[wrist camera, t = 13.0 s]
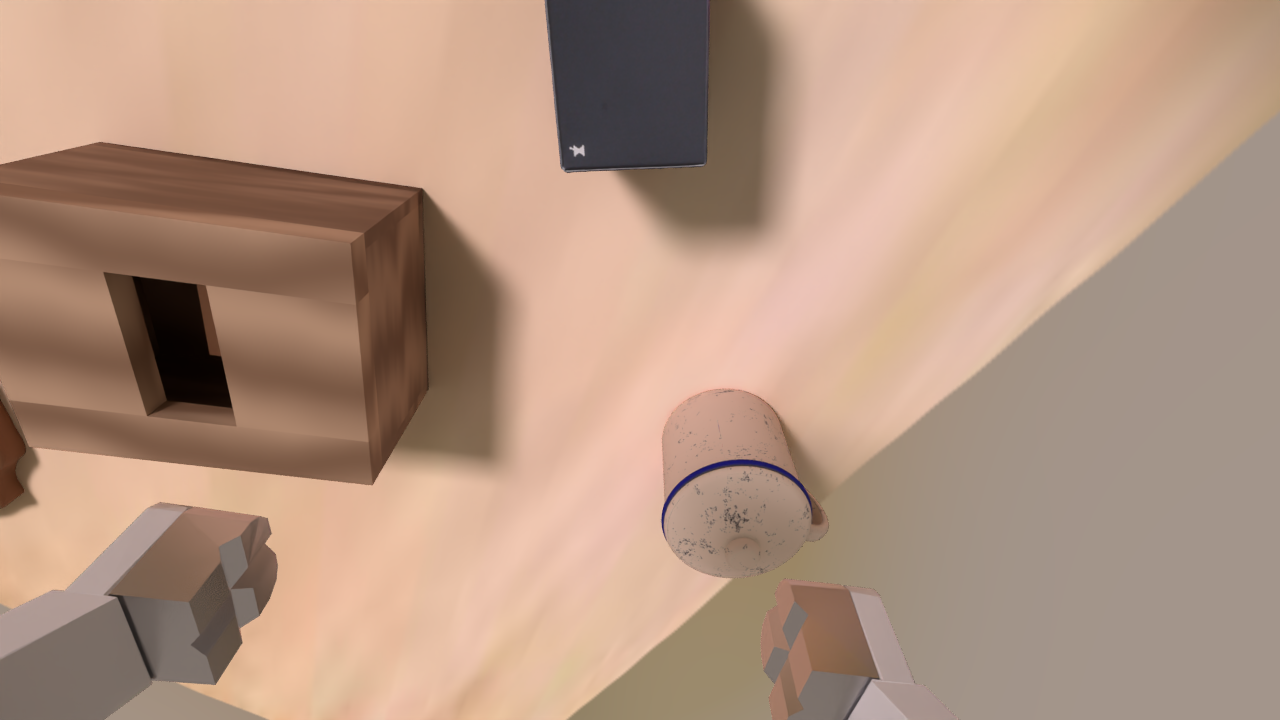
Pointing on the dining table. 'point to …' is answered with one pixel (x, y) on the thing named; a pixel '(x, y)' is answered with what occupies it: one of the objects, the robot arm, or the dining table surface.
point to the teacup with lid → (733, 487)
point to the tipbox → (240, 303)
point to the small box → (630, 82)
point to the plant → (9, 458)
